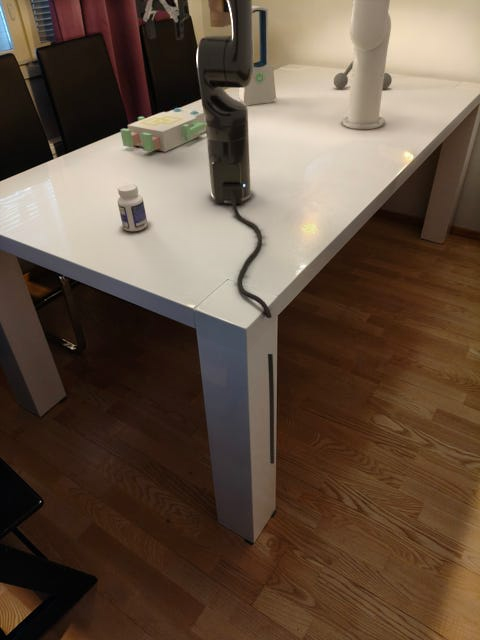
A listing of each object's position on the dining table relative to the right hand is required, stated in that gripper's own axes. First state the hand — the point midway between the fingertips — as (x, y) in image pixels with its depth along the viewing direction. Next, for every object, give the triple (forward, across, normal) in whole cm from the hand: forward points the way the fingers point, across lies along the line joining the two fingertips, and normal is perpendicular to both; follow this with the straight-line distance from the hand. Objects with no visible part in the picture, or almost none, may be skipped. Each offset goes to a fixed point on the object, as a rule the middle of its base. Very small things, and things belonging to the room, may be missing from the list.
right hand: (220, 10), depth 150 cm
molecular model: (+31, -28, -54) cm, 69 cm away
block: (+4, 0, 0) cm, 4 cm away
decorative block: (+31, +4, +30) cm, 43 cm away
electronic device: (+31, -1, -20) cm, 37 cm away
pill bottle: (+31, -26, +80) cm, 90 cm away
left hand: (+2, -8, +39) cm, 40 cm away
